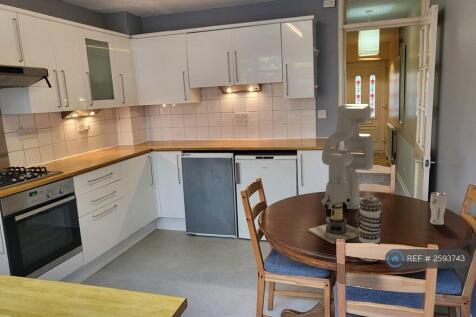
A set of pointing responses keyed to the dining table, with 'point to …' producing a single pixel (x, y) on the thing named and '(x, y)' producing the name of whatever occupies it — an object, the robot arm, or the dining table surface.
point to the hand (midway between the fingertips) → (336, 214)
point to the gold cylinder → (336, 214)
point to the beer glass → (437, 207)
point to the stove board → (332, 238)
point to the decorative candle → (369, 221)
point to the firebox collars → (342, 226)
